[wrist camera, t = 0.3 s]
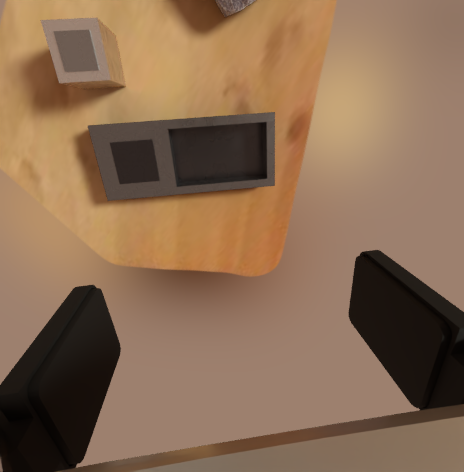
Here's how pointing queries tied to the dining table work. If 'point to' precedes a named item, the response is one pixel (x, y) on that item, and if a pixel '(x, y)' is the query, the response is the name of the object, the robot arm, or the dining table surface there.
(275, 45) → the dining table surface
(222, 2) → the rock
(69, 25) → the gray cube
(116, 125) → the grey tray with recess
